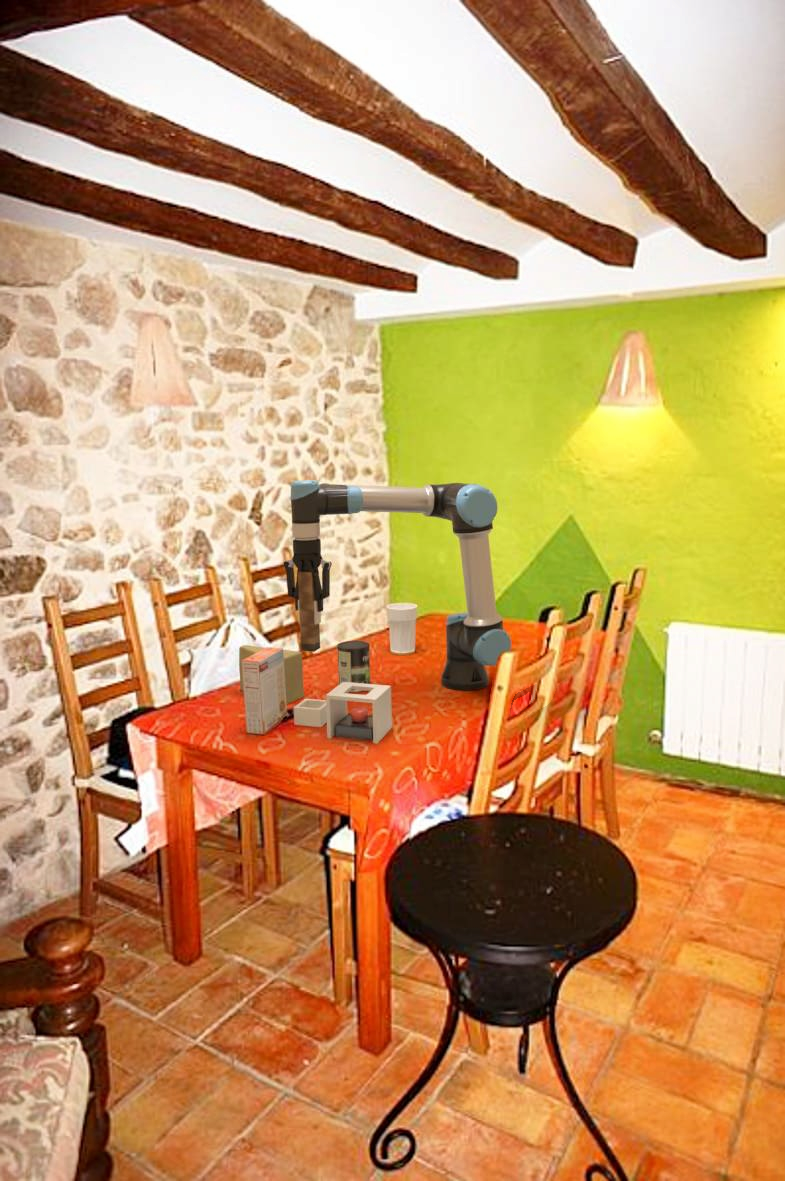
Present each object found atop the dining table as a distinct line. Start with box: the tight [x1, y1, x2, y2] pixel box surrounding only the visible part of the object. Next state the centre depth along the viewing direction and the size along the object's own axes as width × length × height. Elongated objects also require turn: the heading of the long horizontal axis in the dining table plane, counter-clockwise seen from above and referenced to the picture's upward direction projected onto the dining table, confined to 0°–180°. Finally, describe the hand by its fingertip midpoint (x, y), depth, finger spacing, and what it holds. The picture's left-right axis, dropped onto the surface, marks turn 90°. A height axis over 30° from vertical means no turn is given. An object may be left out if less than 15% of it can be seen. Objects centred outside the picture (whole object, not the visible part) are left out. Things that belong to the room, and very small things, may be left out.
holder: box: [293, 698, 327, 728], centre depth 226 cm, size 8×8×5 cm
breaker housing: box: [335, 712, 373, 742], centre depth 217 cm, size 10×9×4 cm
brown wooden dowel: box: [298, 571, 321, 653], centre depth 220 cm, size 4×4×22 cm
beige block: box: [238, 644, 305, 705], centre depth 249 cm, size 22×10×15 cm, turn 57°
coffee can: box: [336, 640, 371, 693], centre depth 255 cm, size 10×10×14 cm
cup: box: [386, 602, 418, 656], centre depth 295 cm, size 11×11×17 cm
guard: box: [325, 682, 393, 745], centre depth 216 cm, size 14×12×12 cm
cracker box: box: [241, 646, 288, 736], centre depth 222 cm, size 14×6×21 cm, turn 160°
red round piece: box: [350, 706, 369, 723], centre depth 216 cm, size 5×5×6 cm
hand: (309, 622), depth 221 cm, fingers closed on brown wooden dowel, 4 cm apart
